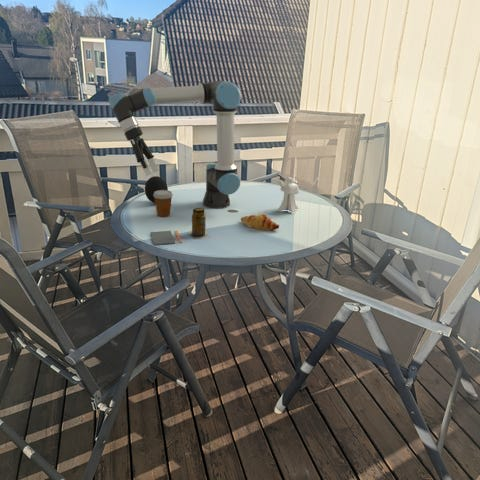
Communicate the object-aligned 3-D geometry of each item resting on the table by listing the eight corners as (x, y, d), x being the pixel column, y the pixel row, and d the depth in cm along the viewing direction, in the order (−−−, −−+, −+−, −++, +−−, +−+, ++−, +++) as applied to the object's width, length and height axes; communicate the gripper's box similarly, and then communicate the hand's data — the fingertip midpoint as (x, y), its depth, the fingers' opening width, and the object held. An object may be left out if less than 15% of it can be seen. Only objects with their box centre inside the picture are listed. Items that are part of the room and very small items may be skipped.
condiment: (203, 230, 192) (203, 206, 188) (209, 237, 185) (210, 211, 181) (188, 232, 189) (188, 207, 184) (194, 239, 182) (194, 213, 178)
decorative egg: (172, 203, 228) (172, 177, 223) (153, 207, 220) (152, 180, 214) (159, 198, 236) (158, 172, 231) (141, 202, 228) (139, 175, 222)
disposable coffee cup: (169, 219, 205) (168, 195, 200) (151, 217, 206) (150, 193, 202) (175, 213, 213) (175, 190, 209) (158, 211, 215) (157, 189, 211)
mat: (170, 231, 189) (170, 230, 189) (175, 243, 177) (175, 242, 176) (150, 233, 186) (150, 232, 186) (154, 245, 174) (154, 243, 174)
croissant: (237, 230, 204) (233, 218, 198) (246, 216, 209) (243, 205, 204) (276, 239, 194) (273, 227, 189) (284, 224, 200) (282, 212, 194)
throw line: (177, 231, 190) (177, 230, 190) (182, 242, 177) (182, 242, 177) (174, 231, 189) (174, 230, 189) (179, 243, 177) (179, 242, 177)
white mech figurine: (285, 215, 217) (287, 182, 210) (273, 208, 228) (275, 176, 221) (304, 213, 222) (307, 180, 215) (291, 206, 233) (294, 174, 226)
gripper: (131, 132, 195) (151, 173, 200) (115, 132, 171) (138, 179, 176) (145, 126, 194) (165, 167, 199) (131, 125, 170) (154, 172, 175)
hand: (153, 173), depth 188 cm, fingers open, 13 cm apart
